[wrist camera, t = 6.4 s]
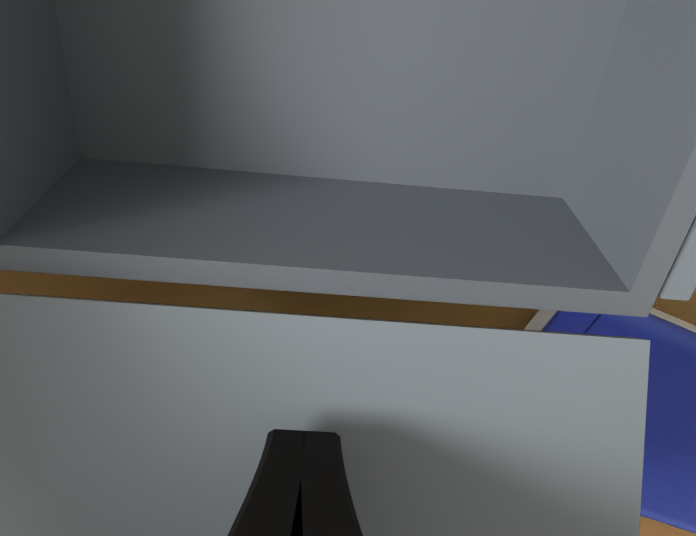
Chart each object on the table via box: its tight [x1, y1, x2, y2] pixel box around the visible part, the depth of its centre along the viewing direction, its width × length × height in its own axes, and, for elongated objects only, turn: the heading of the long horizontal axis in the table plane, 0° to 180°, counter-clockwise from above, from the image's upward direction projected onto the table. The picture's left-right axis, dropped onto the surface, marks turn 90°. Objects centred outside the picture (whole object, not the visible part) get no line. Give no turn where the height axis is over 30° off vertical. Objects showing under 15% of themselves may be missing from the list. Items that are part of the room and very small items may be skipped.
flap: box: [0, 293, 650, 536], centre depth 12 cm, size 14×9×1 cm
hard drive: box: [524, 308, 696, 533], centre depth 21 cm, size 2×8×12 cm
